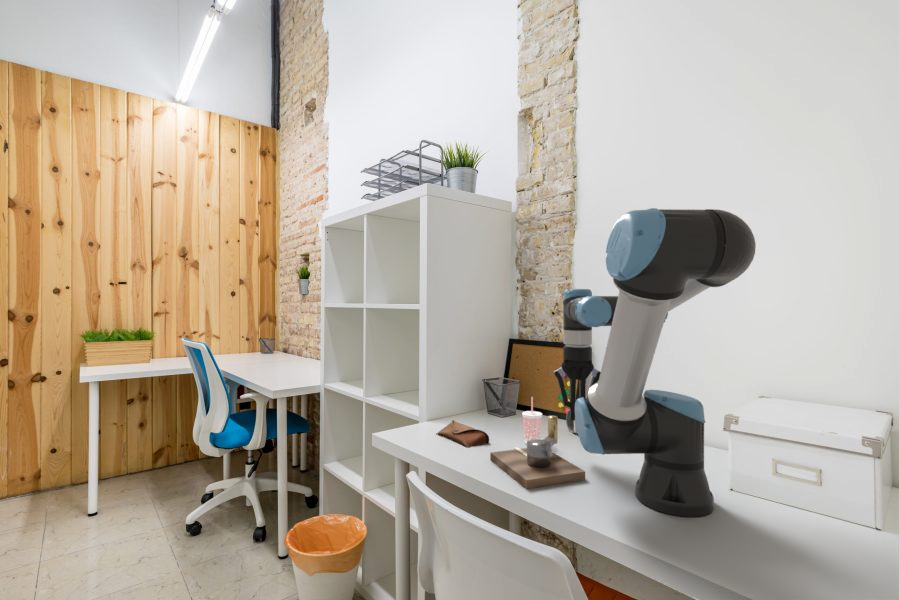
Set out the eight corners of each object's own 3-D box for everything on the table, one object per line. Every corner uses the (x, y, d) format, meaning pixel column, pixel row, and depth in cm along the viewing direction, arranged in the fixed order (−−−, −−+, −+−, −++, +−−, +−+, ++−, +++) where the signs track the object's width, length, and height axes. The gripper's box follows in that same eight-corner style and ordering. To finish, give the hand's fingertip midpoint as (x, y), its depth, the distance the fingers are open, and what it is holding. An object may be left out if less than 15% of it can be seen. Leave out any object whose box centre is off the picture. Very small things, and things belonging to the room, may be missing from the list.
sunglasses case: (433, 433, 147) (441, 414, 149) (447, 441, 150) (456, 422, 152) (468, 448, 132) (477, 426, 134) (483, 456, 136) (492, 435, 138)
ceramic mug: (599, 434, 146) (599, 410, 146) (576, 436, 144) (576, 411, 144) (582, 425, 156) (582, 403, 156) (561, 427, 154) (560, 404, 155)
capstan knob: (546, 468, 110) (546, 431, 110) (523, 464, 113) (523, 427, 113) (564, 450, 123) (564, 417, 123) (543, 447, 126) (543, 414, 126)
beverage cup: (535, 438, 141) (535, 394, 141) (546, 444, 136) (546, 398, 136) (518, 441, 139) (518, 395, 139) (528, 447, 133) (528, 399, 133)
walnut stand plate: (585, 479, 109) (585, 470, 109) (526, 488, 104) (526, 478, 104) (540, 452, 129) (540, 444, 129) (489, 459, 123) (489, 450, 123)
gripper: (599, 344, 126) (599, 428, 126) (551, 343, 127) (551, 427, 128) (605, 347, 119) (605, 437, 119) (554, 346, 120) (554, 435, 120)
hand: (577, 431), depth 123 cm, fingers closed
